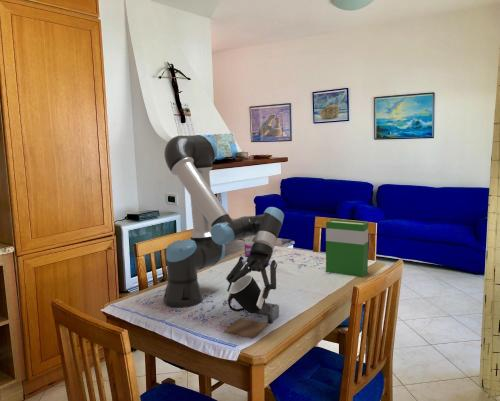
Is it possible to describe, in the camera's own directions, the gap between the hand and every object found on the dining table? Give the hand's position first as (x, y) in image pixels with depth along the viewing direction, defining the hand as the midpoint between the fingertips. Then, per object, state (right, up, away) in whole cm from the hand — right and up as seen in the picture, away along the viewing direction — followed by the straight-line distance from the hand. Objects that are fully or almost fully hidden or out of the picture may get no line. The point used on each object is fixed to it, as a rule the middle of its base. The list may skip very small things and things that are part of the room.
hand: (243, 304), depth 145 cm
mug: (+4, -3, +3) cm, 6 cm away
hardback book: (+47, 0, +63) cm, 79 cm away
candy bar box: (+5, +4, +94) cm, 94 cm away
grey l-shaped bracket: (+8, -7, +14) cm, 18 cm away
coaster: (+1, -9, +4) cm, 10 cm away
